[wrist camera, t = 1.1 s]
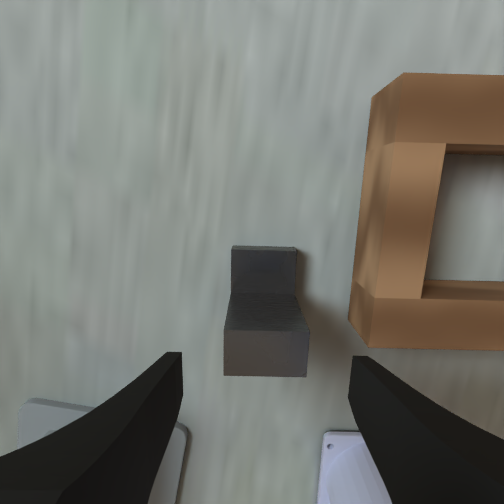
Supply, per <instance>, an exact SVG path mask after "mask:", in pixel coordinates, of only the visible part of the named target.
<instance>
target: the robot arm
mask: <svg viewBox="0 0 504 504" xmlns="http://www.w3.org/2000/svg"><path fill="white" fill-rule="evenodd" d="M182 397H183V376H182V352H166V353H165V354H164V355H163V356H162V357H161V358H159V359H158V360H157V361H156V362H155V363H154V364H153V365H151V366H150V367H149V368H148V369H147V370H146V371H144V372H143V373H142V374H141V375H140V376H138V377H137V378H136V379H135V380H134V381H132V382H131V383H130V384H128V385H127V386H126V387H124V388H123V389H122V390H121V391H119V392H118V393H117V394H115V395H114V396H113V397H111V398H110V399H108V400H107V401H105V402H104V403H103V404H101V405H99V406H98V407H96V408H95V409H93V410H92V411H90V412H89V413H87V414H85V415H84V416H82V417H80V418H78V419H77V420H75V421H73V422H71V423H69V424H68V425H66V426H64V427H62V428H60V429H59V430H57V431H55V432H53V433H51V434H49V435H47V436H45V437H43V438H41V439H39V440H37V441H35V442H33V443H30V444H28V445H26V446H24V447H22V448H20V449H17V450H15V451H13V452H11V453H8V454H6V455H3V456H1V457H0V504H148V501H149V497H150V493H151V490H152V487H153V484H154V481H155V478H156V475H157V473H158V470H159V467H160V465H161V462H162V459H163V456H164V454H165V451H166V448H167V446H168V443H169V440H170V438H171V435H172V432H173V429H174V427H175V424H176V421H177V418H178V414H179V410H180V406H181V402H182ZM348 399H349V403H350V406H351V409H352V412H353V415H354V418H355V421H356V424H357V426H358V428H359V430H360V432H333V431H330V432H326V433H325V434H324V436H323V444H322V454H321V464H320V475H319V485H318V495H317V504H504V440H503V439H501V438H499V437H497V436H495V435H493V434H491V433H489V432H487V431H485V430H483V429H481V428H479V427H477V426H475V425H473V424H471V423H469V422H467V421H466V420H464V419H462V418H460V417H458V416H457V415H455V414H453V413H451V412H450V411H448V410H446V409H445V408H443V407H441V406H440V405H438V404H436V403H435V402H433V401H432V400H430V399H429V398H427V397H425V396H424V395H422V394H421V393H419V392H418V391H416V390H415V389H413V388H412V387H411V386H409V385H408V384H406V383H405V382H403V381H402V380H401V379H399V378H398V377H396V376H395V375H394V374H392V373H391V372H390V371H388V370H387V369H385V368H384V367H383V366H381V365H380V364H379V363H377V362H376V361H374V360H373V359H371V358H370V357H368V356H353V360H352V368H351V377H350V385H349V394H348ZM328 444H330V445H328Z"/></svg>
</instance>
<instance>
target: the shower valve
mask: <svg viewBox="0 0 504 504" xmlns="http://www.w3.org/2000/svg"><path fill="white" fill-rule="evenodd" d="M93 409H95V408H94V407H88V406H82V405H76V404H70V403H64V402H58V401H52V400H46V399H40V398H33V399H29V400H28V401H26V402H25V403H24V404H23V405H22V406H21V408H20V409H19V412H18V447H17V449H20V448H22V447H24V446H26V445H28V444H30V443H33V442H35V441H37V440H39V439H41V438H43V437H45V436H47V435H49V434H51V433H53V432H55V431H57V430H59V429H60V428H62V427H64V426H66V425H68V424H69V423H71V422H73V421H75V420H77V419H78V418H80V417H82V416H84V415H85V414H87V413H89V412H90V411H92V410H93ZM187 436H188V433H187V429H186V427H185V426H184V425H183V424H181V423H179V422H176V424H175V427H174V429H173V432H172V435H171V438H170V440H169V443H168V446H167V448H166V451H165V454H164V456H163V459H162V462H161V465H160V467H159V470H158V473H157V475H156V478H155V481H154V484H153V487H152V490H151V493H150V497H149V501H148V504H175V502H176V497H177V491H178V486H179V480H180V475H181V469H182V464H183V458H184V453H185V447H186V442H187Z"/></svg>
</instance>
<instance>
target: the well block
mask: <svg viewBox="0 0 504 504" xmlns="http://www.w3.org/2000/svg"><path fill="white" fill-rule="evenodd" d="M445 154H474V155H504V75H470V74H434V73H403V74H401V75H400V76H399V77H397V78H396V79H395V80H394V81H392V82H391V83H390V84H388V85H387V86H386V87H384V88H383V89H382V90H381V91H379V92H378V93H377V94H375V95H374V96H373V97H372V100H371V109H370V119H369V128H368V137H367V146H366V156H365V165H364V174H363V183H362V193H361V202H360V211H359V220H358V230H357V239H356V248H355V258H354V267H353V276H352V285H351V295H350V304H349V313H348V321H349V322H350V323H351V325H352V326H353V327H354V329H355V330H356V331H357V333H358V334H359V335H360V337H361V338H362V339H363V341H364V342H365V344H366V345H367V346H368V348H412V349H456V350H501V351H504V282H497V281H455V280H424V275H425V269H426V263H427V257H428V251H429V245H430V239H431V233H432V227H433V221H434V215H435V209H436V203H437V197H438V191H439V185H440V179H441V173H442V167H443V161H444V155H445Z"/></svg>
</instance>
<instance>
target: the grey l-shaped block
mask: <svg viewBox="0 0 504 504" xmlns="http://www.w3.org/2000/svg"><path fill="white" fill-rule="evenodd" d="M296 258H297V250H296V249H295V248H294V247H272V246H232V249H231V295H230V301H229V306H228V311H227V316H226V321H225V326H224V376H272V377H306V375H307V362H308V349H309V336H310V331H309V329H308V326H307V324H306V322H305V319H304V317H303V314H302V312H301V309H300V307H299V304H298V302H297V300H296V297H295V295H294V290H295V274H296Z"/></svg>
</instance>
